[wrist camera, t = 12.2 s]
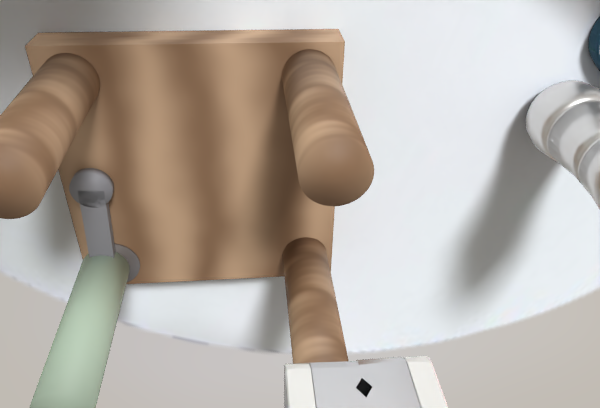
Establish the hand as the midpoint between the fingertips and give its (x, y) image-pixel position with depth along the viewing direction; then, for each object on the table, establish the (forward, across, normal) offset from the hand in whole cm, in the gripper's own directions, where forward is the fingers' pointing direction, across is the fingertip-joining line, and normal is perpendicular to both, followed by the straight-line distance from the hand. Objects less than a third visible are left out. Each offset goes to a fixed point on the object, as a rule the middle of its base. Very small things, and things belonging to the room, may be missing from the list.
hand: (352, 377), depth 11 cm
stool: (+34, +6, +14) cm, 37 cm away
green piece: (+31, +15, +19) cm, 39 cm away
